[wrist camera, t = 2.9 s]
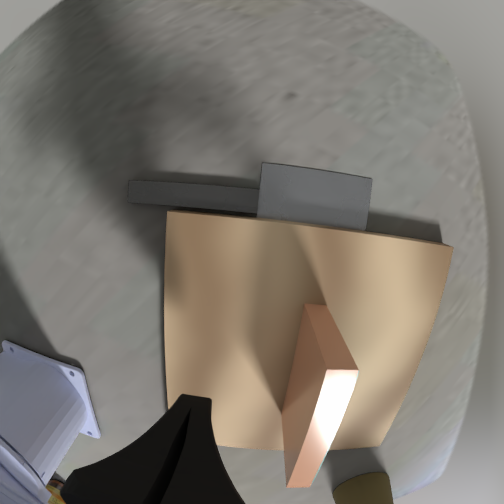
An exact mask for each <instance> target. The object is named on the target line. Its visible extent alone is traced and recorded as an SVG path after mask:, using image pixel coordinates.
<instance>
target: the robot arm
mask: <svg viewBox="0 0 504 504" xmlns="http://www.w3.org/2000/svg"><path fill="white" fill-rule="evenodd" d="M2 347H3V350H4V351H3V352H2V353H0V504H49V503H48V500H49V499H50V497H51V495H52V494H51V493H50V492H49V491H48V490H47V489H46V488H45V487H46V485H47V484H48V482H49V480H50V479H51V477H52V475H53V474H54V472H55V470H56V469H57V467H58V465H59V464H60V462H61V461H62V459H63V457H64V456H65V454H66V453H67V451H68V449H69V448H70V446H71V445H72V443H73V442H74V440H75V438H76V437H77V435H78V434H79V432H81V433H83V434H86V435H89V436H91V437H94V438H100V436H101V433H100V430H99V427H98V424H97V421H96V417H95V414H94V411H93V407H92V403H91V400H90V396H89V392H88V388H87V384H86V380H85V375H84V373H83V371H82V370H81V369H79V368H77V367H74V366H71V365H68V364H65V363H62V362H59V361H56V360H54V359H51V358H48V357H45V356H43V355H40V354H38V353H35V352H32V351H30V350H28V349H25V348H23V347H20V346H18V345H16V344H13V343H11V342H9V341H7V340H4V341H3V342H2ZM211 415H212V400H211V399H210V398H207V397H200V396H194V395H188V394H181V395H180V396H179V397H178V399H177V400H176V401H175V403H174V404H173V405H172V406H171V407H170V409H169V410H168V411H167V412H166V413H165V414H164V415H163V416H162V417H161V418H160V419H159V420H158V421H157V422H156V423H155V424H154V425H153V426H152V427H151V428H150V429H149V430H148V431H147V432H146V433H144V434H143V435H142V436H141V437H139V438H138V439H137V440H135V441H134V442H133V443H131V444H130V445H128V446H127V447H125V448H123V449H122V450H120V451H119V452H117V453H115V454H113V455H111V456H109V457H107V458H105V459H103V460H101V461H98V462H96V463H94V464H91V465H88V466H85V467H82V468H79V469H75V470H74V471H73V472H72V473H71V474H70V476H69V477H68V478H67V480H66V481H65V483H64V485H63V487H62V489H61V490H60V496H61V497H62V499H63V501H64V502H65V503H66V504H245V502H244V501H243V500H242V498H241V497H240V495H239V493H238V492H237V490H236V489H235V487H234V485H233V483H232V481H231V479H230V477H229V476H228V474H227V471H226V469H225V467H224V465H223V462H222V460H221V457H220V454H219V451H218V448H217V445H216V441H215V437H214V432H213V427H212V421H211Z"/></svg>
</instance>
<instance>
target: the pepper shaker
mask: <svg viewBox="0 0 504 504" xmlns="http://www.w3.org/2000/svg"><path fill="white" fill-rule="evenodd" d="M333 498H334V501H335V503H336V504H393V497H392V491H391V485H390V480H389V476H388V475H387V474H385V473H383V472H374V473H367V474H363V475H360V476H357V477H354V478H352V479H349V480H347V481H346V482H344V483H342V484H340V485H339V486H338V487H337V488H336V489H335V490H334V492H333Z"/></svg>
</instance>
